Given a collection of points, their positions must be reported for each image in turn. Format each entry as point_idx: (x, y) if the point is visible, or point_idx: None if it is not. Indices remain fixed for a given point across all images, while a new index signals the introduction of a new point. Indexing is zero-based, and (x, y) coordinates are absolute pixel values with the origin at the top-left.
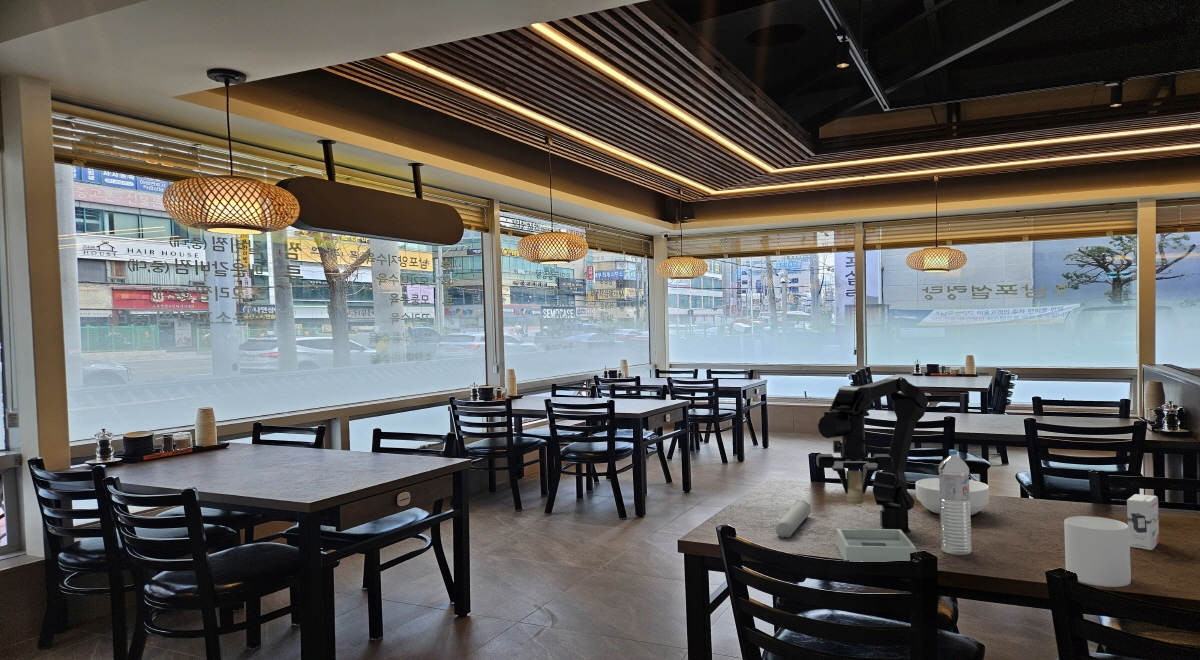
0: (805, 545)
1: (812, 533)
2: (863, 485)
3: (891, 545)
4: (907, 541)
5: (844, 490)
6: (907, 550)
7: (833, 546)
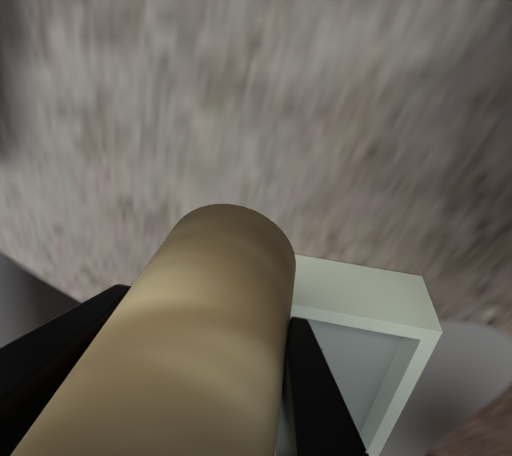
0: (60, 211)
1: (72, 20)
2: (278, 439)
3: (335, 375)
4: (372, 443)
5: (98, 299)
6: None
7: (160, 234)
